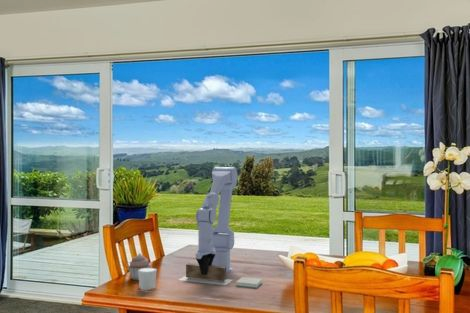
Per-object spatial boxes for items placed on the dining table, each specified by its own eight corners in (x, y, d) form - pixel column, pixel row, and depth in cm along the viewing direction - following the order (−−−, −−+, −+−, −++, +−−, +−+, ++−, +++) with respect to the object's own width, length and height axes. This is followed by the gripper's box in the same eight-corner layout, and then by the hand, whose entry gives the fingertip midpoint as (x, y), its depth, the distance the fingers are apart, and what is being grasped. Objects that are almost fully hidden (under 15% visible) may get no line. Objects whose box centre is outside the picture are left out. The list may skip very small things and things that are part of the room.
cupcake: (139, 274, 194) (140, 249, 193) (156, 277, 188) (156, 252, 188) (122, 279, 186) (122, 253, 186) (138, 283, 180) (138, 257, 180)
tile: (236, 281, 176) (256, 284, 173) (242, 277, 182) (262, 279, 180) (236, 286, 176) (256, 288, 173) (242, 281, 182) (261, 283, 180)
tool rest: (177, 280, 183) (177, 279, 183) (186, 275, 191) (186, 274, 191) (225, 286, 177) (225, 285, 177) (233, 280, 184) (233, 279, 184)
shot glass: (160, 286, 175) (160, 268, 175) (150, 292, 169) (151, 272, 169) (143, 285, 178) (143, 266, 178) (134, 290, 171) (134, 271, 171)
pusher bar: (186, 277, 185) (186, 264, 185) (188, 275, 188) (188, 263, 188) (223, 281, 180) (223, 267, 180) (226, 279, 182) (226, 266, 182)
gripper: (207, 242, 175) (207, 279, 176) (222, 236, 189) (221, 270, 189) (190, 241, 178) (190, 277, 178) (205, 235, 192) (205, 268, 192)
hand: (205, 273), depth 184 cm, fingers closed on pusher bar, 2 cm apart
